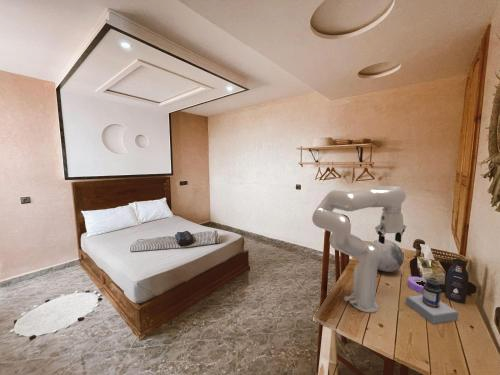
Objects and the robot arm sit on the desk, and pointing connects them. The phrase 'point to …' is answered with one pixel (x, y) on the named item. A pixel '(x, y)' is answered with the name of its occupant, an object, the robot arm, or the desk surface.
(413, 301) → the podium
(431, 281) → the pill bottle
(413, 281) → the masking tape
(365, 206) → the robot arm
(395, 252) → the moon model
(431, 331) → the desk surface
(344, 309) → the desk surface
